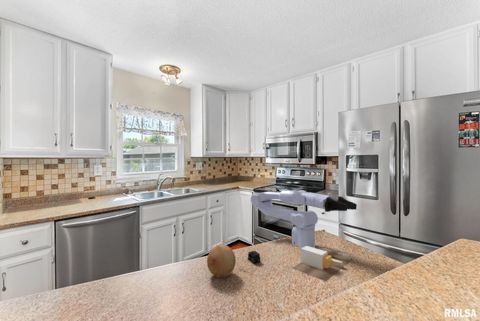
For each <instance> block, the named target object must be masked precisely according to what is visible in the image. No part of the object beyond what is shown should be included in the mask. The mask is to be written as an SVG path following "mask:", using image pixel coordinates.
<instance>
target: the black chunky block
mask: <svg viewBox="0 0 480 321" xmlns="http://www.w3.org/2000/svg"><path fill="white" fill-rule="evenodd" d="M250 260H251V261H252V264H253V265H256V264H260V263H261V255H260V253H259V252H257V251H256V250H253V251H248V254H247V261H250Z"/></svg>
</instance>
